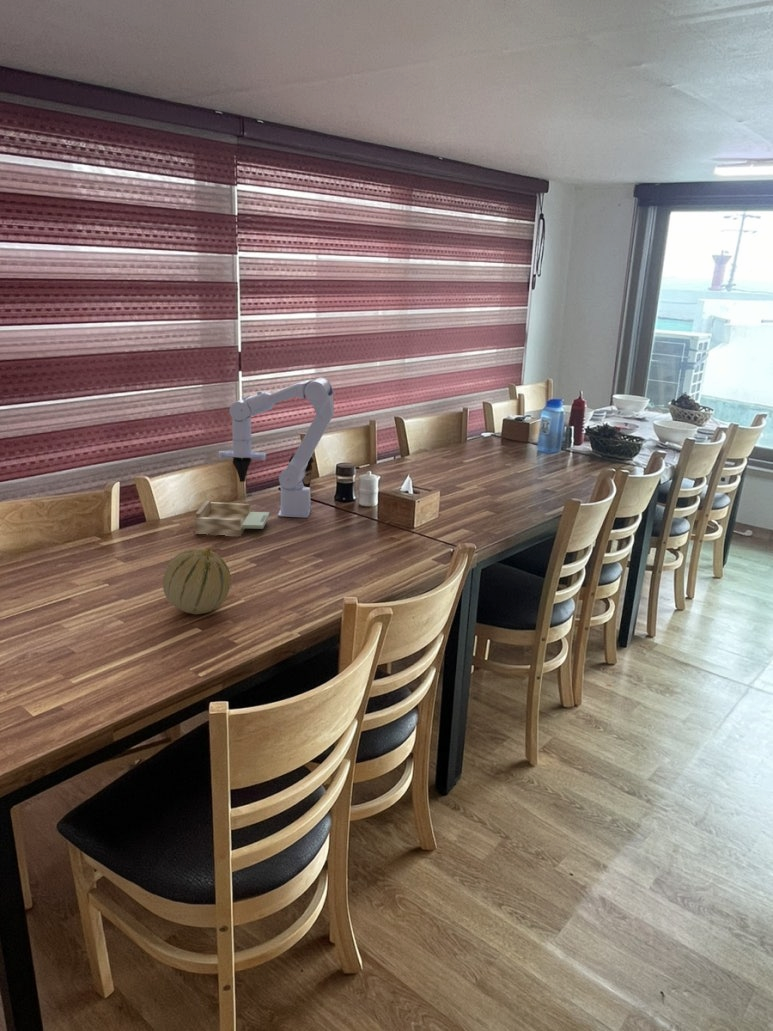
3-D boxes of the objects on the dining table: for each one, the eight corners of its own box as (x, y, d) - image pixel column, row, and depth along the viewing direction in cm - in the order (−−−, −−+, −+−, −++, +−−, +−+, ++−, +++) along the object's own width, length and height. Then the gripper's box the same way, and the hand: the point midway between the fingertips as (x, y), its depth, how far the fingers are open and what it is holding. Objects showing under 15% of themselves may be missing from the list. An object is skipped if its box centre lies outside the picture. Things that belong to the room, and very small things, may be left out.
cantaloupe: (152, 608, 165) (148, 546, 160) (209, 590, 174) (207, 532, 170) (186, 632, 155) (183, 567, 150) (244, 612, 165) (243, 551, 160)
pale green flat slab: (250, 514, 222) (269, 515, 222) (242, 528, 210) (262, 528, 210) (249, 511, 221) (269, 511, 221) (242, 524, 210) (262, 525, 210)
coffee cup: (315, 488, 257) (316, 453, 253) (311, 495, 249) (311, 459, 245) (291, 486, 258) (291, 451, 254) (286, 493, 250) (286, 457, 246)
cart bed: (250, 519, 224) (249, 500, 222) (240, 536, 209) (239, 517, 207) (208, 517, 224) (207, 498, 222) (195, 534, 209) (194, 514, 207)
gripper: (267, 437, 229) (267, 478, 233) (221, 435, 229) (222, 476, 233) (263, 442, 222) (263, 484, 227) (216, 440, 222) (217, 482, 227)
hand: (242, 480), depth 230 cm, fingers closed
